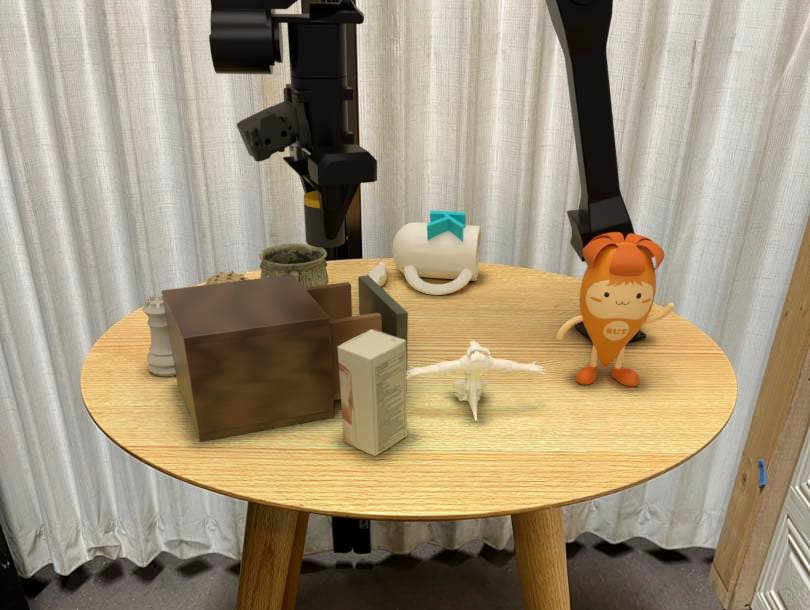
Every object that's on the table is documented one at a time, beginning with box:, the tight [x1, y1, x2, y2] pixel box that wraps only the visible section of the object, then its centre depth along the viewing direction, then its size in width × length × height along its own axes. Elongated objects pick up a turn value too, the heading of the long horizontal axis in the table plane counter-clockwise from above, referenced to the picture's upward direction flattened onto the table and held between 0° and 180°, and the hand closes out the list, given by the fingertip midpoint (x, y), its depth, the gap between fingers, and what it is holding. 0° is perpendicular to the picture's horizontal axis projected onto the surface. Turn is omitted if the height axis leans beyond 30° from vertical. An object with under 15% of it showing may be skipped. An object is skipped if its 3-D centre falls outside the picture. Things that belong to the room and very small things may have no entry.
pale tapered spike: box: [366, 261, 388, 287], centre depth 112 cm, size 15×3×2 cm, turn 172°
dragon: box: [406, 339, 548, 421], centre depth 83 cm, size 15×7×8 cm, turn 96°
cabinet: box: [161, 274, 335, 442], centre depth 83 cm, size 14×13×11 cm
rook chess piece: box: [142, 294, 176, 377], centre depth 90 cm, size 4×4×8 cm
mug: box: [391, 210, 482, 296], centre depth 113 cm, size 12×9×12 cm
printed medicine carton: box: [338, 330, 408, 457], centre depth 77 cm, size 5×4×10 cm
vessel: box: [258, 242, 329, 288], centre depth 107 cm, size 12×9×6 cm
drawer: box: [305, 275, 409, 401], centre depth 86 cm, size 14×11×9 cm
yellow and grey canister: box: [303, 191, 346, 249], centre depth 92 cm, size 4×4×5 cm
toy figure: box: [555, 232, 675, 387], centre depth 88 cm, size 12×8×15 cm
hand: (324, 232), depth 93 cm, fingers closed on yellow and grey canister, 4 cm apart
